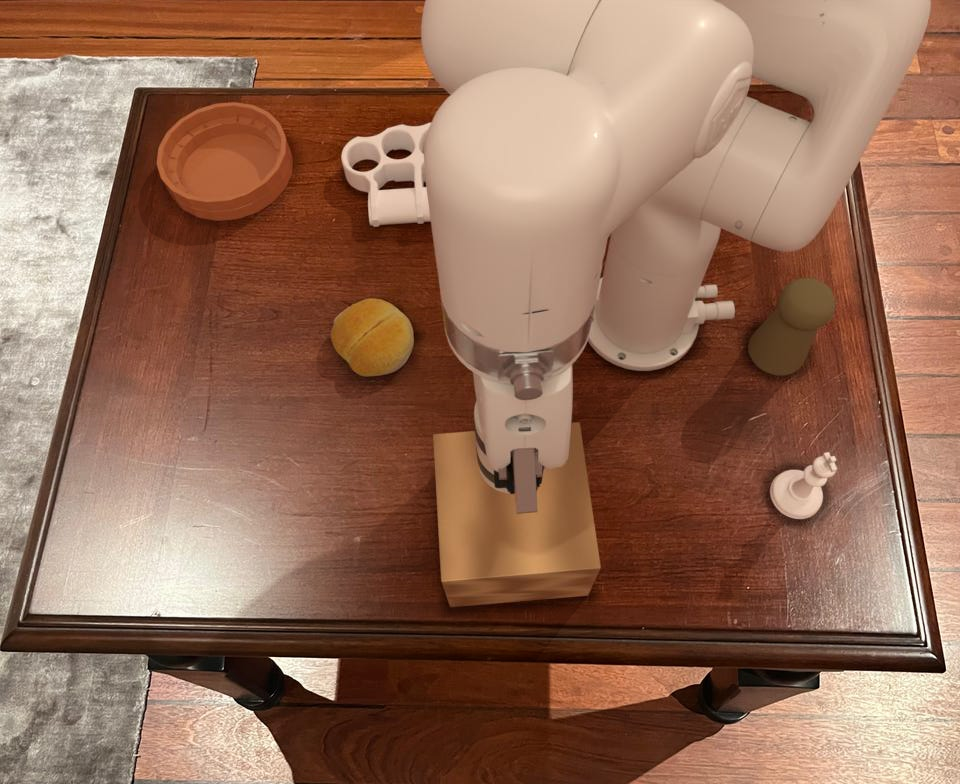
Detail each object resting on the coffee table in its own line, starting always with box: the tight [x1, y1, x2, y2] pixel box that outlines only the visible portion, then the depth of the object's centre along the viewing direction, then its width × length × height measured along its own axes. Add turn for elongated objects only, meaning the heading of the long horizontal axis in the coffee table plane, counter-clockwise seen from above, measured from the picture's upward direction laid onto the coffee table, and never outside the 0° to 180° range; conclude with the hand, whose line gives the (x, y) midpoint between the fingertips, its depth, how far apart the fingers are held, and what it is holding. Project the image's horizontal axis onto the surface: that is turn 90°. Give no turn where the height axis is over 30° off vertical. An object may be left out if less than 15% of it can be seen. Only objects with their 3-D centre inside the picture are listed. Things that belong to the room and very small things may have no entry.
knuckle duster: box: [340, 122, 431, 228], centre depth 95 cm, size 3×18×15 cm
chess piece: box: [769, 451, 838, 520], centre depth 74 cm, size 5×5×10 cm
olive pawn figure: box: [747, 277, 837, 376], centre depth 80 cm, size 6×6×11 cm
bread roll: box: [330, 297, 415, 378], centre depth 85 cm, size 8×9×4 cm
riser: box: [432, 421, 602, 608], centre depth 72 cm, size 13×13×11 cm
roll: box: [473, 400, 545, 494], centre depth 55 cm, size 5×5×9 cm
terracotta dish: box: [156, 101, 294, 222], centre depth 96 cm, size 15×15×4 cm
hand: (513, 442), depth 56 cm, fingers closed on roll, 5 cm apart
